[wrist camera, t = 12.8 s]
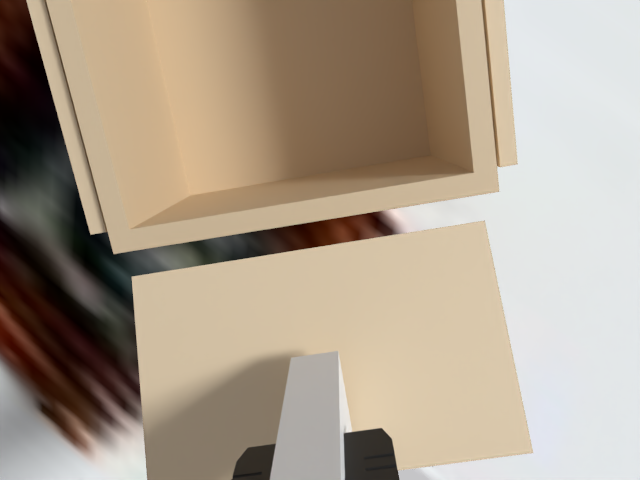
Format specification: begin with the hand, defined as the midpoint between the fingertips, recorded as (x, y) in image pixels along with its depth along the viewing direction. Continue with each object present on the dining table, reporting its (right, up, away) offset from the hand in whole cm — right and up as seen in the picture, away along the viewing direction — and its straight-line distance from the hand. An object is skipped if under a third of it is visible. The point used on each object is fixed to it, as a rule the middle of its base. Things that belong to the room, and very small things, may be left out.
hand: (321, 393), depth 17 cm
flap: (-1, +5, +2) cm, 5 cm away
